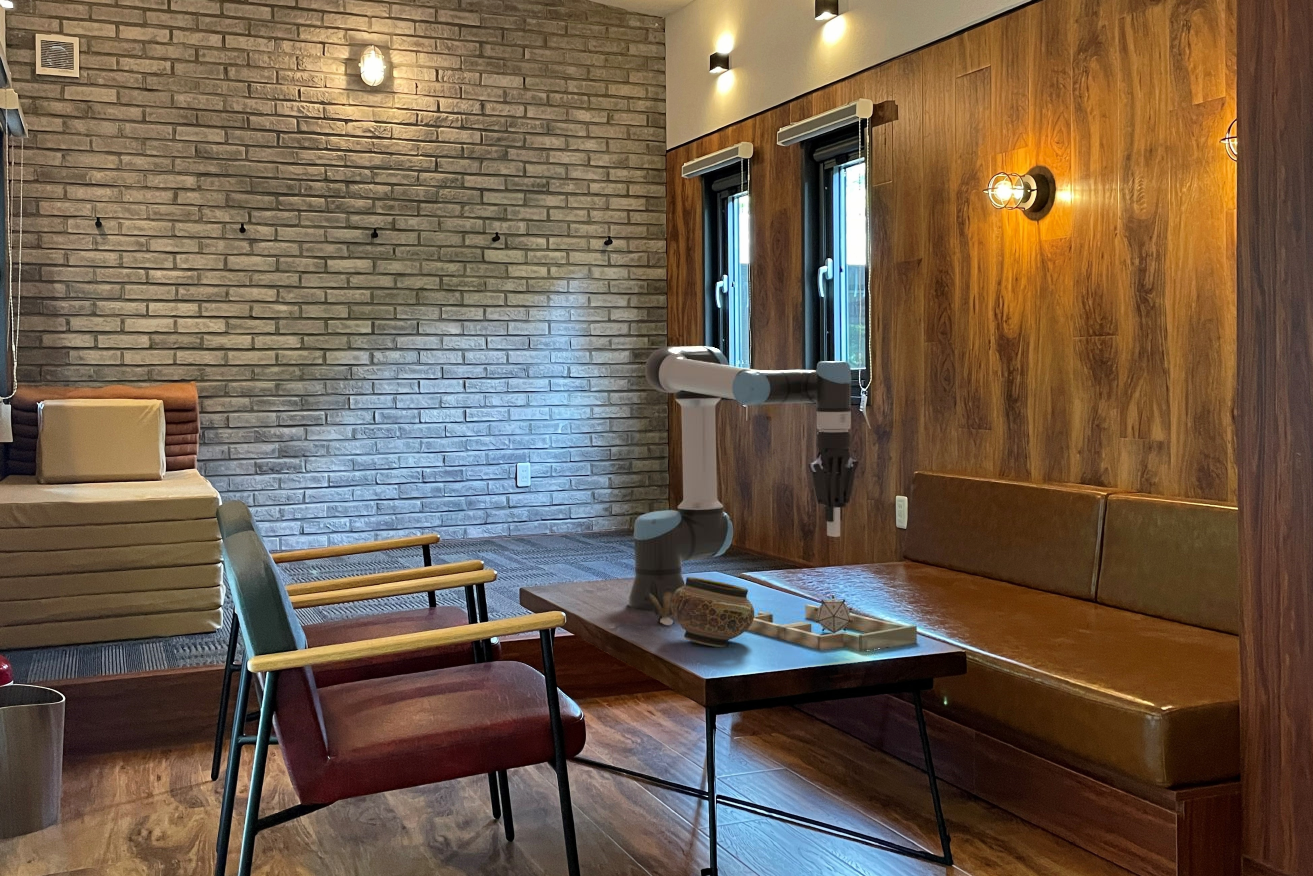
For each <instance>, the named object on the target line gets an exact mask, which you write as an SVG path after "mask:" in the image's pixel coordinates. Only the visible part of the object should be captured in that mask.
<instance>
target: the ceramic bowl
mask: <svg viewBox="0 0 1313 876" xmlns="http://www.w3.org/2000/svg"><path fill="white" fill-rule="evenodd" d="M748 593H749V589H748V588H746V587H742V586H738V585H734V584H730V583H726V582H721V581H715V580H712V579H704V578H701V577H700V578H699V577H691V576H688V577H686V578H685V585H684V586H682V587H680V588H678V589H677V590H676V591H675V592H674V593H673V595H672V597H671V610H672V613H673V615H672V616H673V618H674V619H675V621H676V622H677V624H678V625H679V626H680V627H681V628H682V629H683V630H684V631H685V632H684V636H683V637H684V639H686V640H689V641H691V642H694V643H697V644H699V645H700V644H701V645H706V646H710V647H716V648H724V647H727V646H729V643H728V642H729V641H730V640H733V639H734V638H738V637H739V636H741V635H743V634H744V633H745V632H746V631H747V629H748V628H749V627H750V625H751V624H752V622H753V619H754V616H755V609H754V606H753V604H752V602H751V601H750V600H749V599H748V596H747V595H748Z"/></svg>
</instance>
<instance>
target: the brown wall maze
mask: <svg viewBox="0 0 1313 876" xmlns="http://www.w3.org/2000/svg"><path fill="white" fill-rule="evenodd" d="M819 607H820V606H818V605H813V604H805V607H804V608H805V618H806V619H810V620H814V621H816V620H818V616H817V611H815V608H816V609H819ZM773 617H774V614H773V613H768V612H765V611H758V612H757V615H754V619H753V622H752V624H751V625H750V627H749V628H748V629H747V630H748V631H750V632H751V631H752V632H755V633H759V634H762V635H765V636H769V637H772V638H775V639H776V638H777V639H780V640H783V641H788V642H790V643H791V642H792V643H795V644H799V645H802V646H805V647H809V648H813V649H816V650H819V649H820V651H824V649H826V650H831V648H832V649H837V648H836V647H839V648H846V647H847V649H850V648H851V649H850V650H854V649H855V650H854V651H857V650H860V651H859V652H861V651H866V652H868V651H867V650H872V651H875V650H874V649H878V648H884V649H887V648H886V647H889V648H894V647H899V646H905V645H910V644H914V643H918V631H917V630H918V629H917V628H918V626H917V625H914V624H912V625H907V624H902V623H901V624H900V623H896V622H891V621H886V620H885V621H884V620H881V619H876V618H871V617H868V616H867V617H866V616H864V615H863V616H862V615H860V614H859V615H858V614H854V613H850V620H853V622H852V623H851V622H849V623H848V624H847V625H846V627H845V628H849V629H852V630H856V631H860V632H865V633H861V634H855V633H851V632H848V631H838V632H835V633H833V632H832V633H827V634H823V635H822V634H817V633H814V632H812V623H810V622H807V621H806V622H805V621H798V622H791V623H785V624H778V623H775V622H774V618H773ZM747 630H746V631H747Z"/></svg>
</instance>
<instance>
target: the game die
mask: <svg viewBox="0 0 1313 876" xmlns="http://www.w3.org/2000/svg"><path fill="white" fill-rule="evenodd" d="M820 602H821V605H820V606H818V607H819V609H816V608H815V611H817V616H818V620H814V623H815V624H819V625H820V626H821V627H822V629H821V631H822V632H824V631H825V630H826V631H829V632H831V633H832V634H833V633H839V632H841V631H842V630H843V632H847V629H846V628H847V627H846V625H847V624H848V623H849V622H851V623H852V622H853V620H850V614H851V612H850V611H853V608H852V607H850V608H849V607H848V606H847V605H846V603H845V602H846V598H845V599H842V601H841V600H839V599H836V598H835V595H833V594H832V596H831V598H829V599H827V600H824V599H821V600H820Z"/></svg>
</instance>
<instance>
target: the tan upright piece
mask: <svg viewBox="0 0 1313 876" xmlns="http://www.w3.org/2000/svg"><path fill="white" fill-rule="evenodd" d="M675 591H676V590H675V589H674V588H672V587H669V586H668V587H666V589H664V594H663V606H662V608H661V606H660V604H659V602H658V601H657V599H656V598H655V597H654V596H653V595H652V594H651V592H650V591H648V589H647V591H646V592H647V593H646V594H647V598H648V600H649V602H650V603H651V605H652V606H653V608H654V609H653V610H654V611H653V613H654V614H655V615H656V616H658V618H657V622H656V624H658V625H664V626H672V625H673V624H675V622H674V620H673V619H671V618H670V616H673V613H672V610H671V597H672V595H673V593H674V592H675Z"/></svg>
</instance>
